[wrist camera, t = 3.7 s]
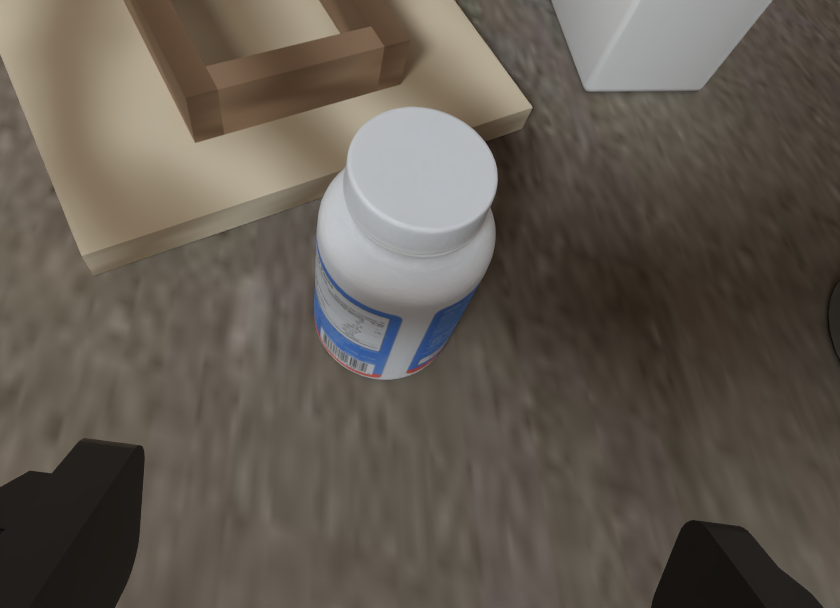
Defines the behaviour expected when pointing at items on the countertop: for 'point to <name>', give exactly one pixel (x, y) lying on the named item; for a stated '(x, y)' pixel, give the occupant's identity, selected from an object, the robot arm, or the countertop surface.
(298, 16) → the collar board
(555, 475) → the countertop surface
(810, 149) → the countertop surface
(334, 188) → the pill bottle
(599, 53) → the medicine bottle
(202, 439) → the countertop surface
